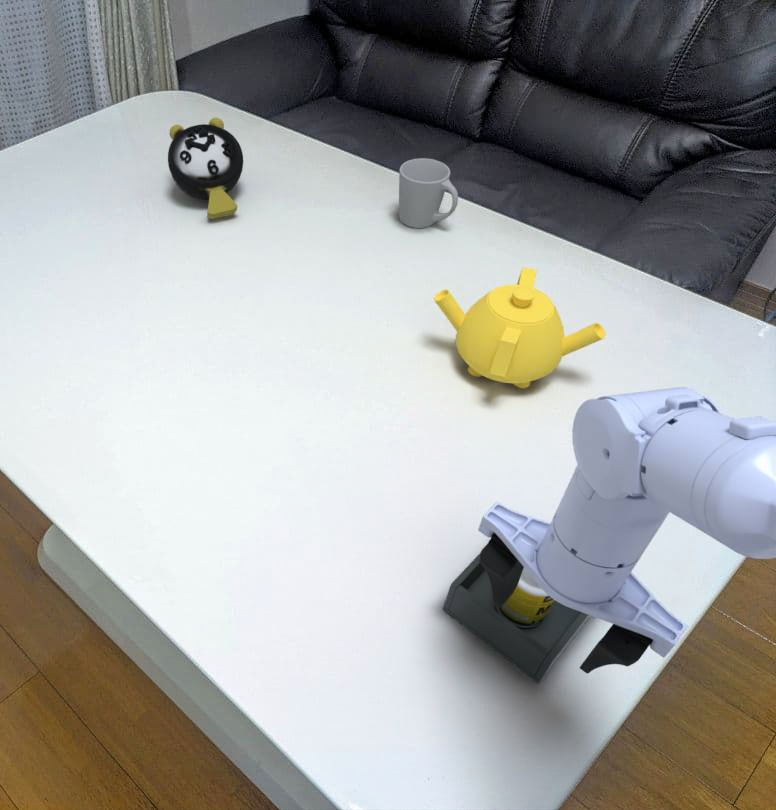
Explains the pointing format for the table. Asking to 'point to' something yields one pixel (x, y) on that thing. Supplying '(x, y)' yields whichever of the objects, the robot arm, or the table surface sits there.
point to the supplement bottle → (526, 603)
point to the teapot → (513, 332)
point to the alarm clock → (206, 164)
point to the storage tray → (517, 644)
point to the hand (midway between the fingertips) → (544, 629)
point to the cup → (424, 192)
